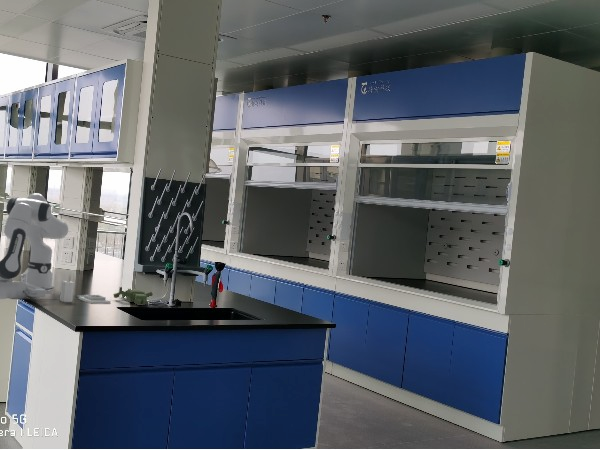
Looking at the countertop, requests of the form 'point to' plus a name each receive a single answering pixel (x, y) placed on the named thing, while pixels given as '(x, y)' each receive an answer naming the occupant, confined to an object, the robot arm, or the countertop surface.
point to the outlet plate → (94, 299)
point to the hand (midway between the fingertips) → (47, 290)
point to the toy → (134, 296)
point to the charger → (67, 291)
